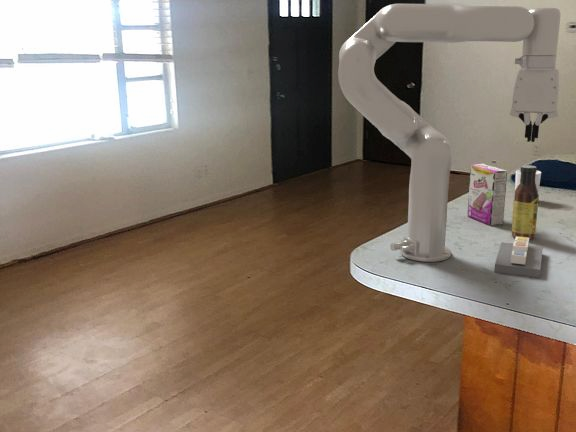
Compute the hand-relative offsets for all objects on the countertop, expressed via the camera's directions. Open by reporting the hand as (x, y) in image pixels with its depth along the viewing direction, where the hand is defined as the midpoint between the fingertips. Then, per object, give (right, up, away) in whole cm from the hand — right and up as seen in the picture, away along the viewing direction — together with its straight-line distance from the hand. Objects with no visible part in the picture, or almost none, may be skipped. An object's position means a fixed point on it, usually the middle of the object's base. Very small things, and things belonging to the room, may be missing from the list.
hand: (530, 140), depth 149 cm
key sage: (-1, -29, +3) cm, 29 cm away
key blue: (-4, -31, -3) cm, 31 cm away
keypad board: (-2, -30, +2) cm, 30 cm away
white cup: (+21, -13, +57) cm, 62 cm away
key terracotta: (-3, -29, 0) cm, 29 cm away
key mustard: (0, -27, +7) cm, 28 cm away
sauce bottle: (+6, -24, +21) cm, 33 cm away
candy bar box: (0, -20, +36) cm, 41 cm away
